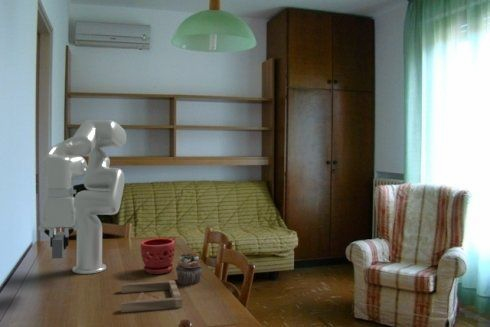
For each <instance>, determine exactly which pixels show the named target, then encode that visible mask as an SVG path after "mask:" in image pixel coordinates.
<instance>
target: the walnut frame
mask: <svg viewBox="0 0 490 327" xmlns="http://www.w3.org/2000/svg"><path fill="white" fill-rule="evenodd" d="M154 291H169V292H170V293H169V294H170V295H171V297H167V298H166V297H165V298H160V299H151V300H138V301H136V300H128V301H121V302H120V312H121V313H131V312H143V311H154V310H167V309H168V310H169V309H177V308H178V309H180V308H183V298H182V295H181V294H180V291H179V288H178V286H177V283H176V281H175V279H174V280H173V279H172V280H159V281H146V282H143V281H142V282H129V283H121V284H120V294H126V293H142V292H144V293H145V292H154Z"/></svg>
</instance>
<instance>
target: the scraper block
mask: <svg viewBox="0 0 490 327" xmlns="http://www.w3.org/2000/svg"><path fill="white" fill-rule="evenodd" d="M54 235H55V236H54V238H53V239H52V247H51V258H52V260H55V259H63V257H64V255H65V253H66V251H67V248H66V249H64V235H65V231H57V232H56V233H54Z"/></svg>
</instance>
